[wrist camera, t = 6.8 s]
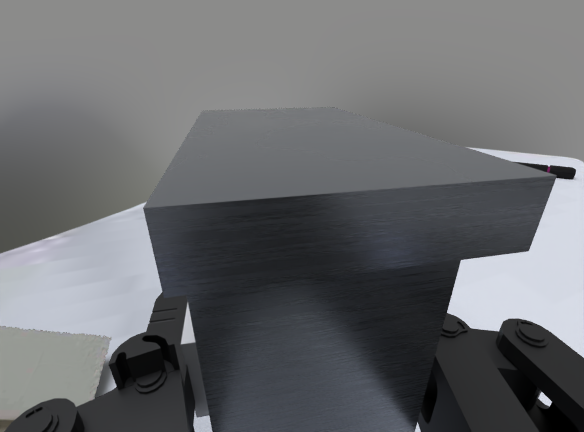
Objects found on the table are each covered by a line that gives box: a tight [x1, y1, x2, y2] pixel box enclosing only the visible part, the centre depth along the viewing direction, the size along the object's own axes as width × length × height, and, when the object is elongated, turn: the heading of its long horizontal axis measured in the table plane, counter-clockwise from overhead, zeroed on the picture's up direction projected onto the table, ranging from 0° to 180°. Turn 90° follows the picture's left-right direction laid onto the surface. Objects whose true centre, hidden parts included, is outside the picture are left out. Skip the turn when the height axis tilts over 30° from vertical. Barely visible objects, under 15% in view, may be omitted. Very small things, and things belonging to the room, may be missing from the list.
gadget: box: [515, 162, 576, 179], centre depth 71 cm, size 2×2×20 cm
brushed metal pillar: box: [143, 107, 557, 432], centre depth 10 cm, size 4×8×14 cm, turn 11°
